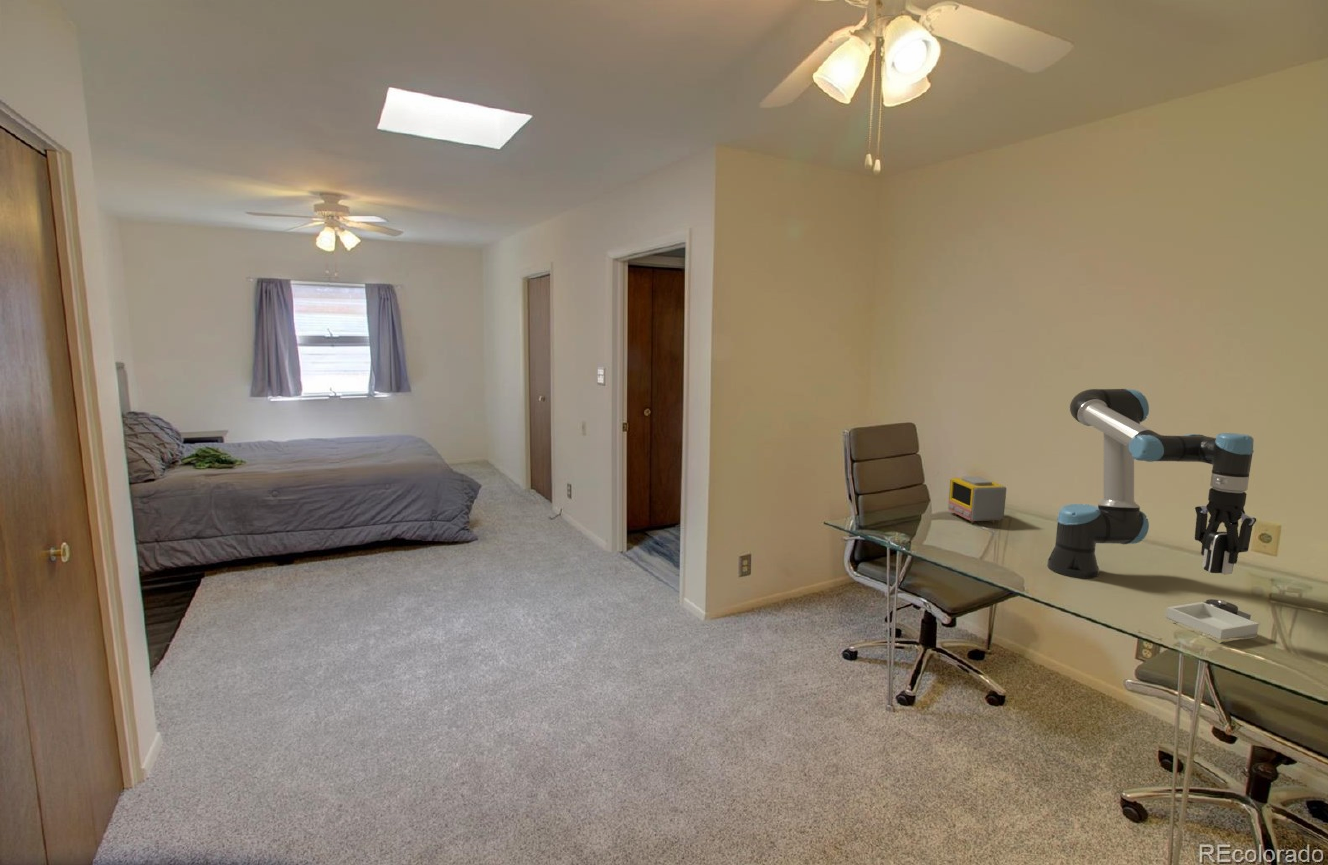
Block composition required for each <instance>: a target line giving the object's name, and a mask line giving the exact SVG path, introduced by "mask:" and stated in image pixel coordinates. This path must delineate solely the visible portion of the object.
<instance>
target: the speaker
mask: <svg viewBox="0 0 1328 865" xmlns="http://www.w3.org/2000/svg"><path fill="white" fill-rule="evenodd" d="M1203 602H1204V603H1206V604H1209V605H1212V606H1214V607H1217V608H1220V609H1222V610H1225V611H1227V612H1230V613H1233V614H1235V615H1238V616H1241V617H1243V618H1246V619H1248V620H1251V616H1252V614H1249V613H1247V612H1244V611H1242V610H1239V607H1238V606H1237V605H1236V604H1234V603H1232V602H1229V601H1226V600H1223V599H1214V598H1212V599H1210V598H1208V599H1207V600H1205V601H1203Z"/></svg>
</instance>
